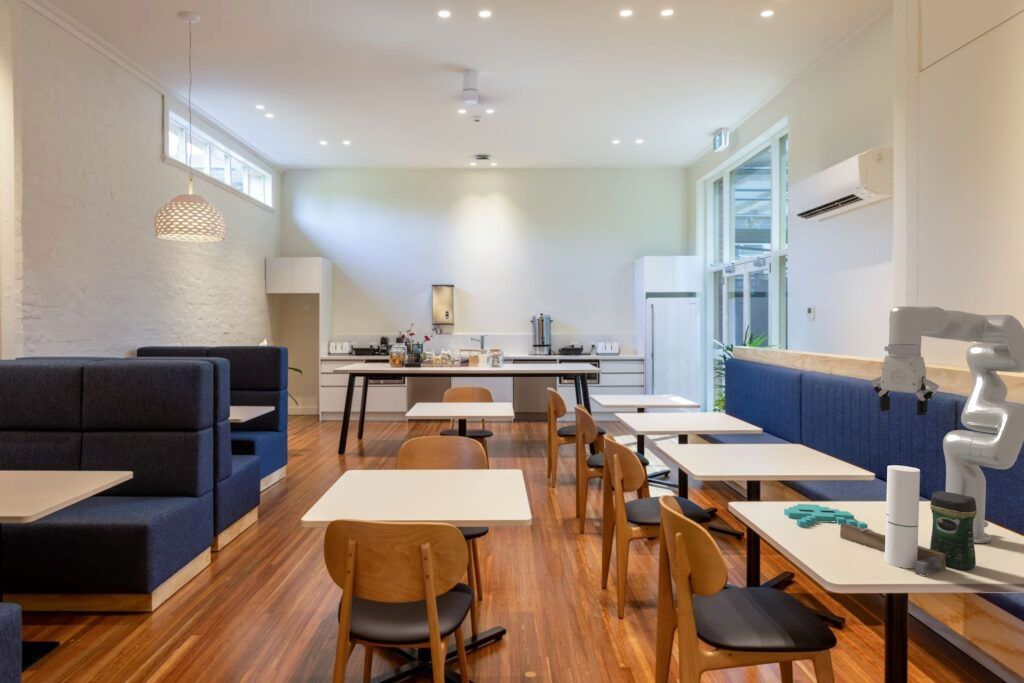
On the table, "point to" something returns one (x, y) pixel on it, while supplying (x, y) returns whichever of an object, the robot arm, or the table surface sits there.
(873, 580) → the table surface
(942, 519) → the coffee jar
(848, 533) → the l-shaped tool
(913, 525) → the cylindrical container
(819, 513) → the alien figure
